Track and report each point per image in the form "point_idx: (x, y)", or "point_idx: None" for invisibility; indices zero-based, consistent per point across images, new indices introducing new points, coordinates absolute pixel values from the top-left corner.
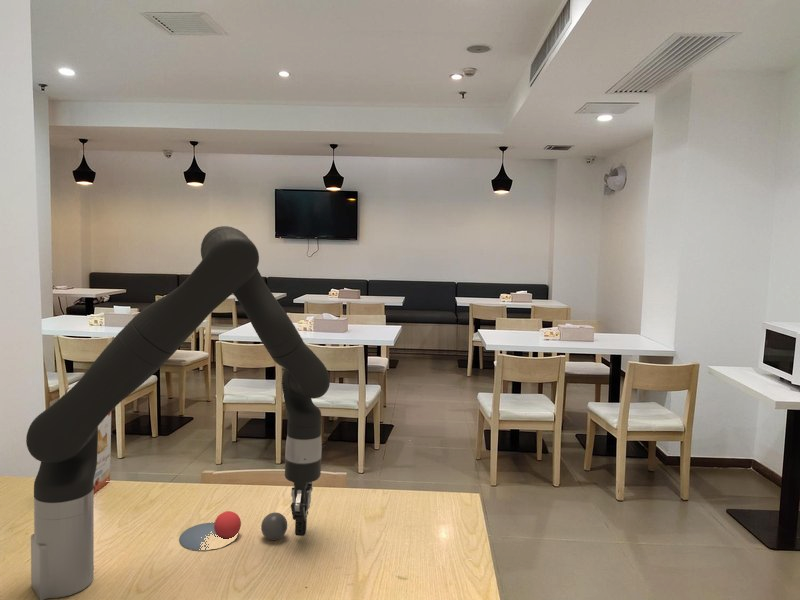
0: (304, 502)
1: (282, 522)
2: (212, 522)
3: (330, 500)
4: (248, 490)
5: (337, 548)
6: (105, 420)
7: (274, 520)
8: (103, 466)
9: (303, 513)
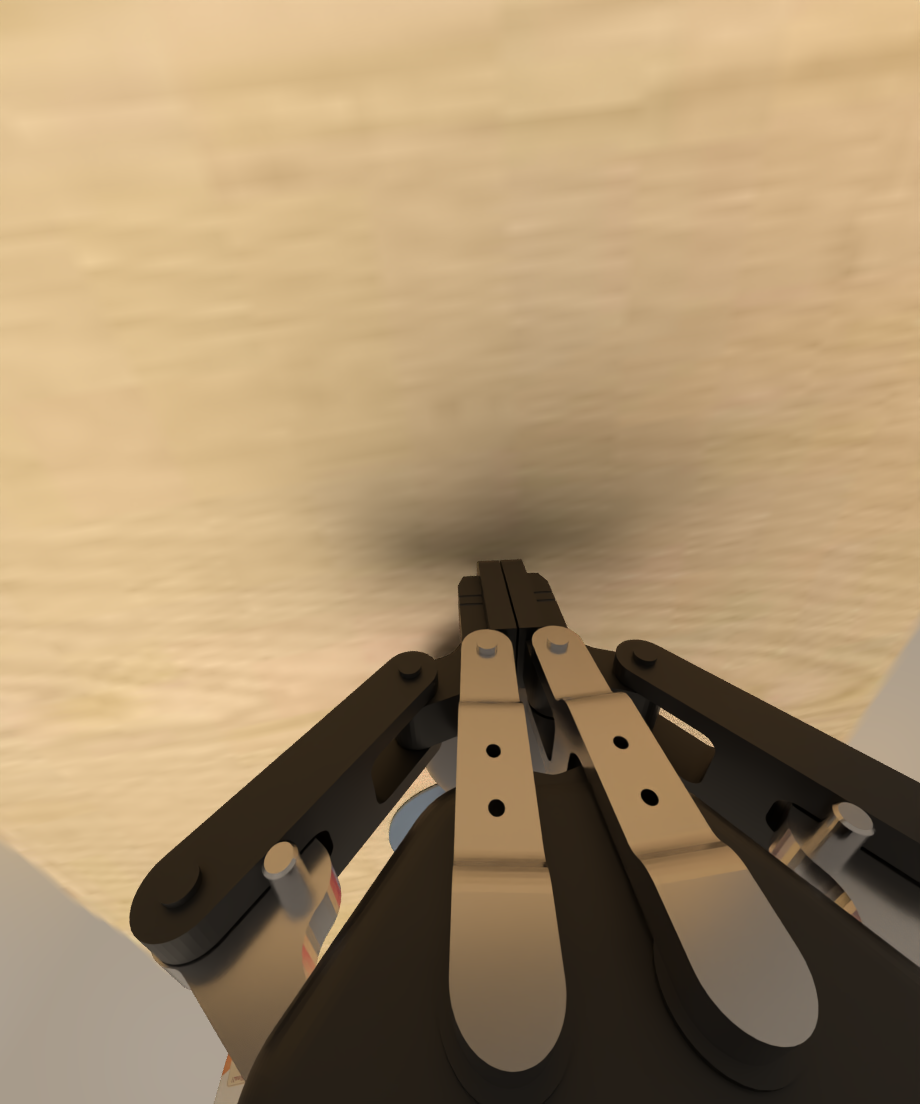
0: (712, 809)
1: (527, 722)
2: (394, 850)
3: None
4: (70, 839)
5: (582, 304)
6: None
7: (544, 768)
8: None
9: (810, 726)
